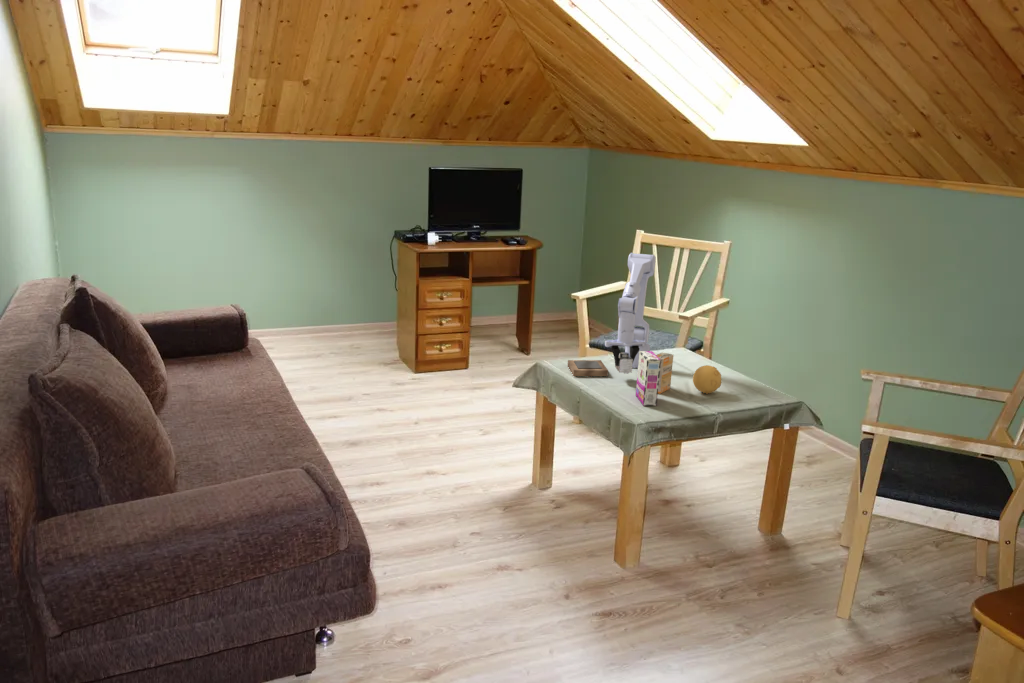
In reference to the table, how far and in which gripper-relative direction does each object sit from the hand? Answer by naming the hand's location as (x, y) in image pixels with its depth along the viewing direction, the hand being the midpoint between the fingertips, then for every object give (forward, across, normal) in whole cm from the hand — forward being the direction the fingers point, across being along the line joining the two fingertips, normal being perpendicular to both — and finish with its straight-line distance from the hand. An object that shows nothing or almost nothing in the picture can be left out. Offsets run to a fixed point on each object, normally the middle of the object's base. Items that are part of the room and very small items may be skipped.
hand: (623, 365), depth 292 cm
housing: (+2, 0, 0) cm, 2 cm away
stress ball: (+6, +27, -14) cm, 31 cm away
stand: (+6, -11, +11) cm, 17 cm away
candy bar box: (+6, +3, -22) cm, 23 cm away
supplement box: (+6, +11, -11) cm, 17 cm away
